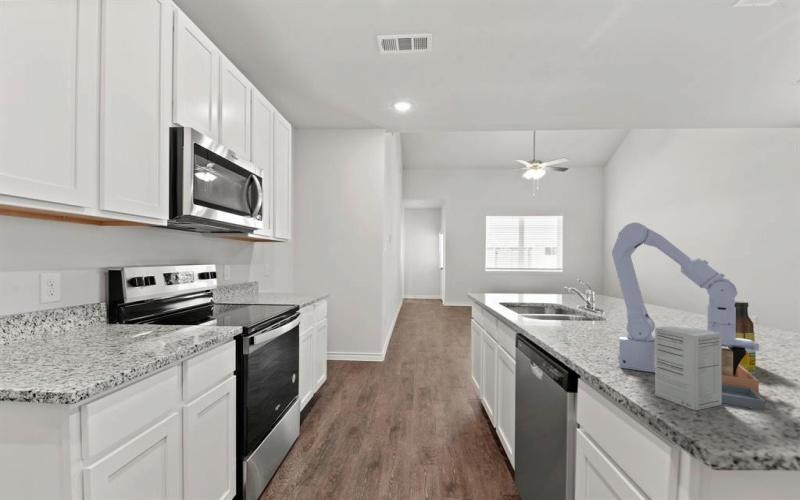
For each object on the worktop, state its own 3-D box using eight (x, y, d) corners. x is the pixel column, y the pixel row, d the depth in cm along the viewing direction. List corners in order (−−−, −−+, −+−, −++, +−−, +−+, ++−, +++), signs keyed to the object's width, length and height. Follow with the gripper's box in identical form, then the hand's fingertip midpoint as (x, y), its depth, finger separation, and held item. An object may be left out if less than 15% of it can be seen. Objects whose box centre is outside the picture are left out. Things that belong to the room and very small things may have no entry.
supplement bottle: (733, 367, 109) (733, 336, 110) (757, 372, 105) (758, 340, 105) (728, 370, 106) (728, 338, 107) (752, 376, 102) (752, 342, 102)
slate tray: (714, 401, 84) (714, 392, 84) (705, 389, 91) (706, 381, 91) (764, 410, 80) (764, 400, 80) (751, 396, 87) (751, 388, 87)
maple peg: (713, 382, 96) (713, 349, 96) (709, 378, 100) (709, 346, 100) (732, 385, 94) (733, 351, 94) (728, 381, 98) (728, 348, 98)
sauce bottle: (752, 363, 114) (752, 301, 114) (758, 368, 109) (758, 303, 109) (725, 359, 118) (725, 299, 118) (729, 364, 112) (730, 301, 113)
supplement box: (680, 390, 91) (680, 324, 91) (723, 405, 82) (723, 332, 82) (653, 395, 88) (653, 326, 88) (695, 411, 79) (695, 335, 79)
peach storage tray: (702, 388, 92) (702, 372, 92) (690, 370, 107) (690, 356, 107) (758, 397, 87) (758, 380, 87) (737, 376, 101) (737, 362, 101)
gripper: (690, 322, 97) (689, 372, 97) (763, 328, 90) (763, 382, 90) (685, 318, 103) (685, 365, 103) (753, 324, 96) (753, 374, 96)
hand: (720, 372), depth 97 cm, fingers closed on maple peg, 4 cm apart
